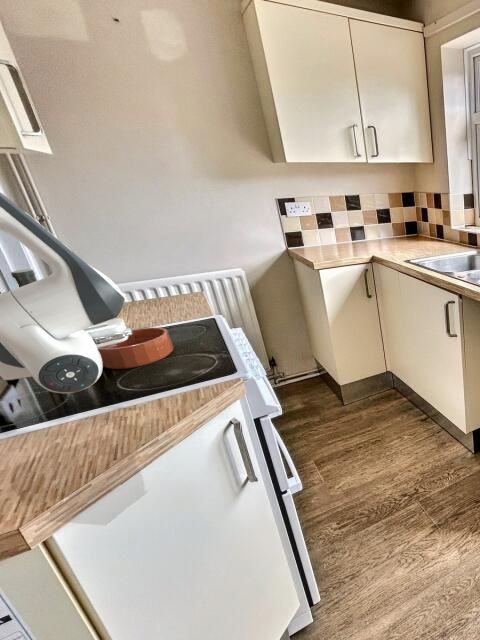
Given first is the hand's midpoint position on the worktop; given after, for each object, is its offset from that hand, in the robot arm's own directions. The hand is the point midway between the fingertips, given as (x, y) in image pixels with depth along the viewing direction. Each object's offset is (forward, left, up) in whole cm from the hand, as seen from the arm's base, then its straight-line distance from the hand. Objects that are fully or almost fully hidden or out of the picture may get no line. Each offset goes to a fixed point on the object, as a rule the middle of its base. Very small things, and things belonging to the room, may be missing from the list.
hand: (58, 332), depth 88 cm
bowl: (-2, +15, -13) cm, 20 cm away
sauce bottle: (-38, +25, -13) cm, 47 cm away
